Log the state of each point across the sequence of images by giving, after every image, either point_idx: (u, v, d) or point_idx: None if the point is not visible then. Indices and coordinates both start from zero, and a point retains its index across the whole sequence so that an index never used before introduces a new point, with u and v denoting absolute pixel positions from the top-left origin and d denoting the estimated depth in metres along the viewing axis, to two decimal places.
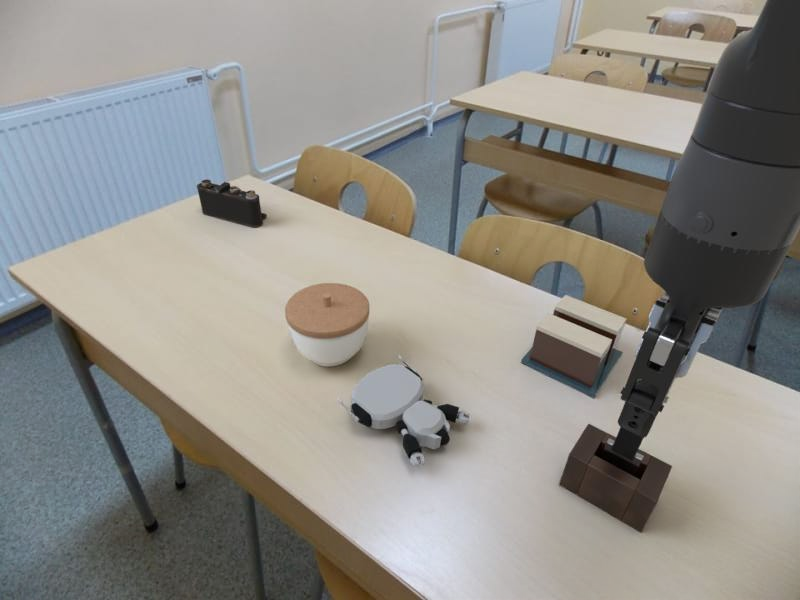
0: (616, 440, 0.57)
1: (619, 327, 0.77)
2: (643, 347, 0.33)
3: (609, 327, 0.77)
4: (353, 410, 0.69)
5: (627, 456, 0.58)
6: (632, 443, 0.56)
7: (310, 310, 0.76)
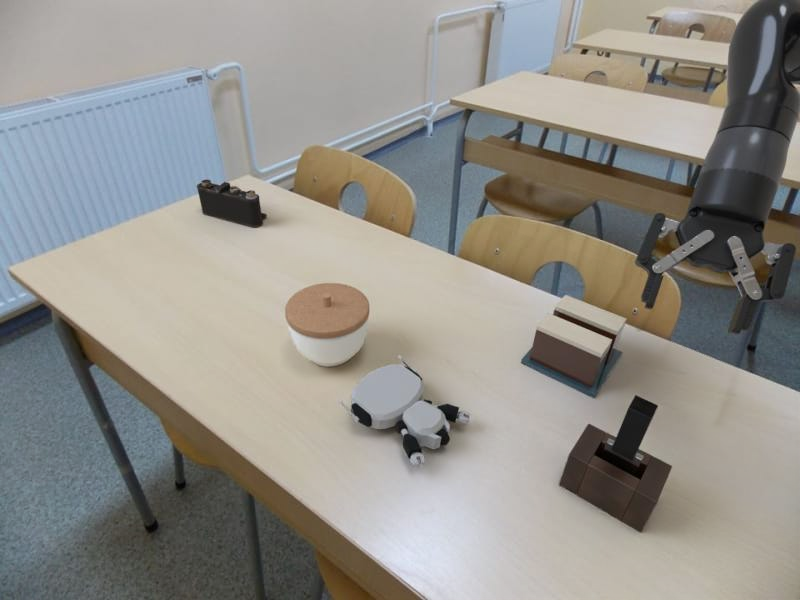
0: (616, 440, 0.57)
1: (619, 327, 0.77)
2: None
3: (609, 327, 0.77)
4: (353, 410, 0.69)
5: (627, 456, 0.58)
6: (632, 443, 0.56)
7: (310, 310, 0.76)
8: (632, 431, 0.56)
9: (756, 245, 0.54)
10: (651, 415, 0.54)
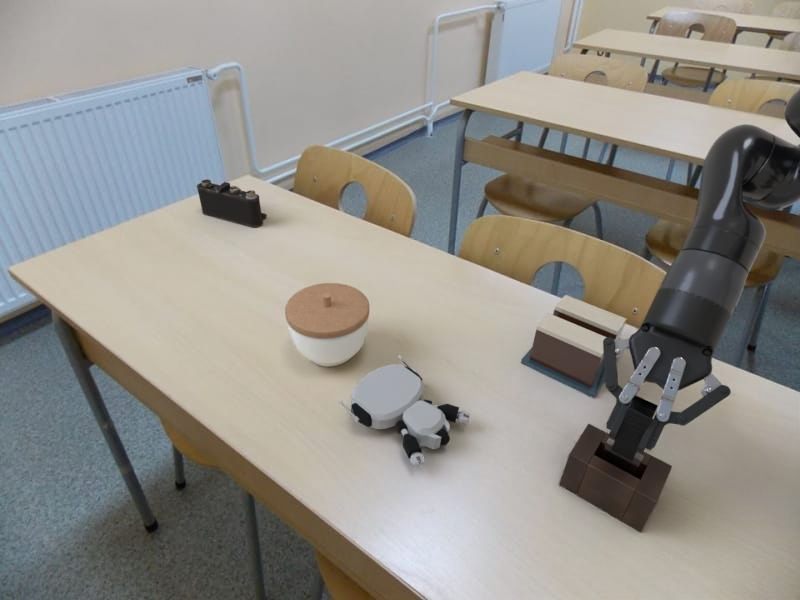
0: (616, 440, 0.57)
1: (619, 327, 0.77)
2: None
3: (609, 327, 0.77)
4: (353, 410, 0.69)
5: (627, 456, 0.57)
6: (631, 443, 0.56)
7: (310, 310, 0.76)
8: (632, 431, 0.56)
9: (700, 370, 0.54)
10: (651, 415, 0.54)
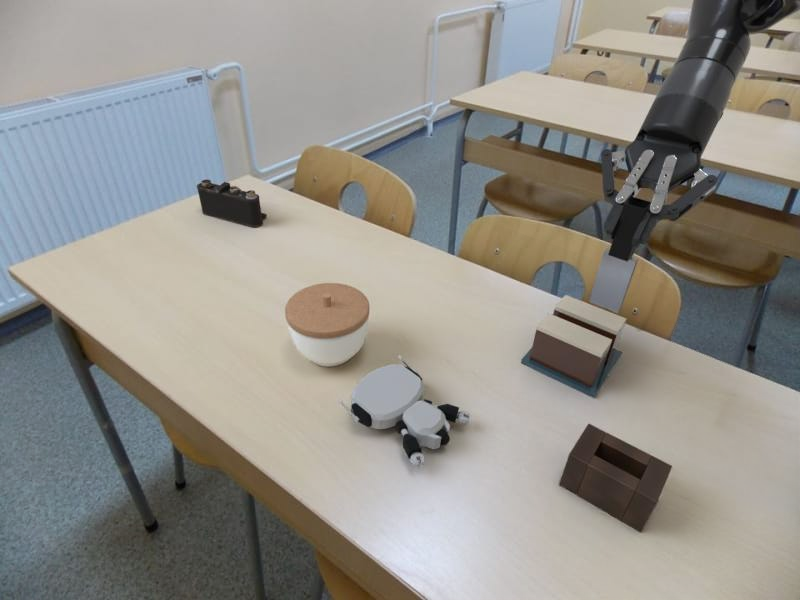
0: (612, 242, 0.62)
1: (619, 327, 0.77)
2: None
3: (609, 327, 0.77)
4: (353, 410, 0.69)
5: (623, 257, 0.62)
6: (627, 241, 0.61)
7: (310, 310, 0.76)
8: (627, 229, 0.60)
9: (690, 165, 0.58)
10: (645, 207, 0.59)
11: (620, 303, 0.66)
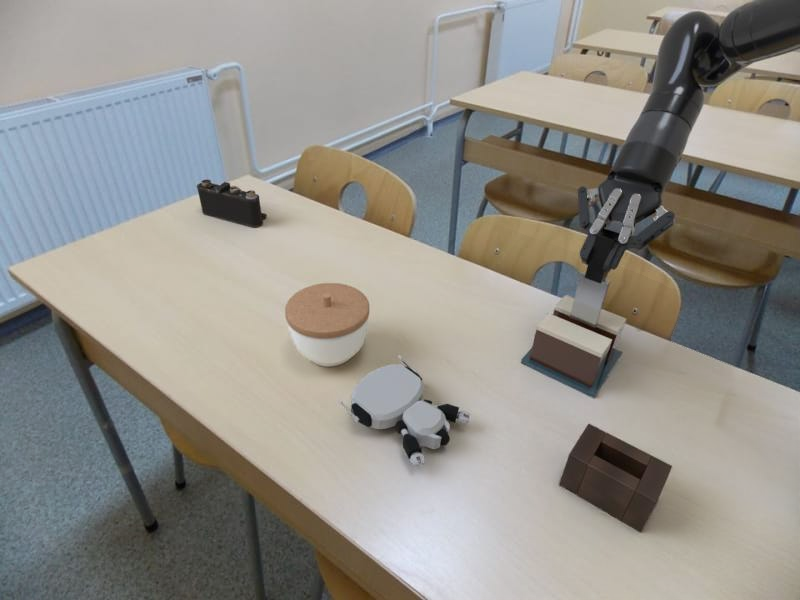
0: (587, 267, 0.72)
1: (619, 327, 0.77)
2: None
3: (609, 327, 0.77)
4: (353, 410, 0.69)
5: (596, 280, 0.72)
6: (600, 266, 0.71)
7: (310, 310, 0.76)
8: (599, 256, 0.70)
9: (652, 202, 0.68)
10: (613, 238, 0.68)
11: (596, 319, 0.76)
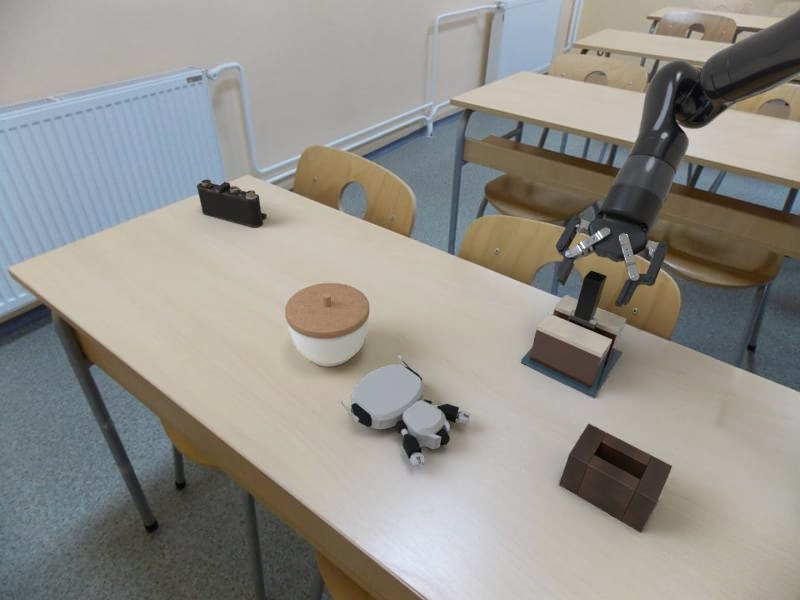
0: (577, 306, 0.76)
1: (619, 327, 0.77)
2: None
3: (609, 327, 0.77)
4: (353, 410, 0.69)
5: (585, 318, 0.76)
6: (588, 306, 0.75)
7: (310, 310, 0.76)
8: (587, 296, 0.74)
9: (640, 241, 0.72)
10: (601, 281, 0.72)
11: None
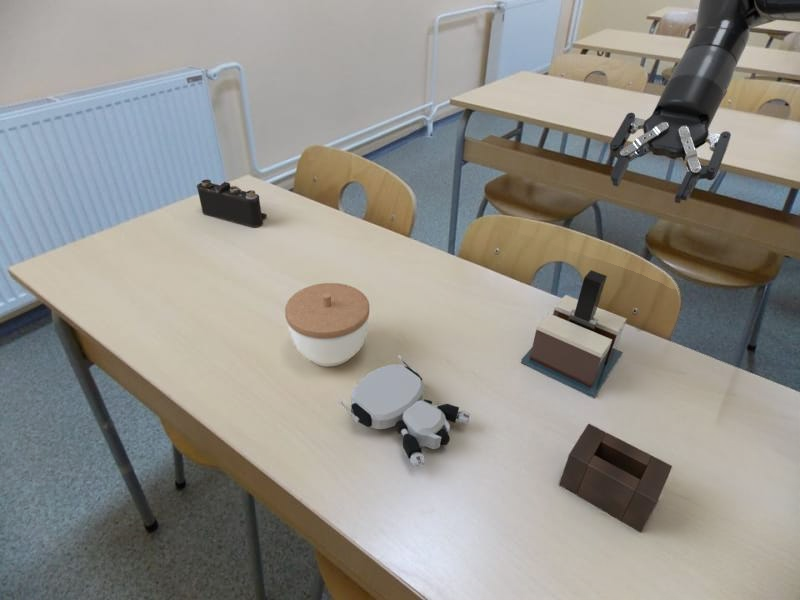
0: (577, 306, 0.76)
1: (619, 327, 0.77)
2: None
3: (609, 327, 0.77)
4: (353, 410, 0.69)
5: (585, 318, 0.76)
6: (588, 306, 0.75)
7: (310, 310, 0.76)
8: (587, 296, 0.74)
9: (701, 134, 0.70)
10: (601, 281, 0.72)
11: None
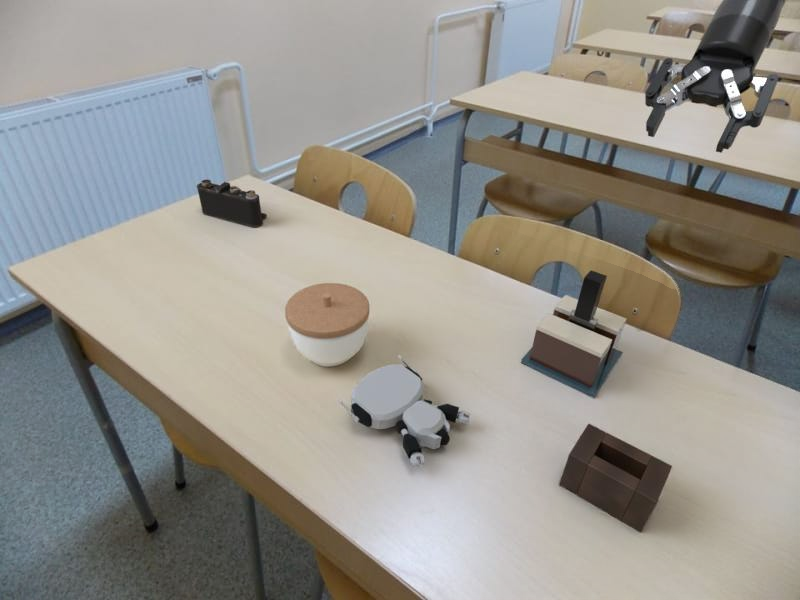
0: (577, 306, 0.76)
1: (619, 327, 0.77)
2: None
3: (609, 327, 0.77)
4: (353, 410, 0.69)
5: (585, 318, 0.76)
6: (588, 306, 0.75)
7: (310, 310, 0.76)
8: (587, 296, 0.74)
9: (745, 77, 0.65)
10: (601, 281, 0.72)
11: None
